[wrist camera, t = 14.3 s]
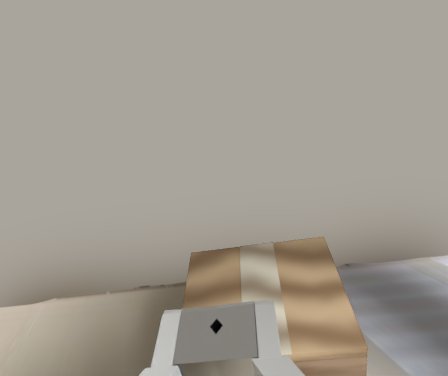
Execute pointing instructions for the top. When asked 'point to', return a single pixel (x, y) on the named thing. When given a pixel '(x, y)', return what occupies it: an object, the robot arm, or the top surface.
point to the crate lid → (283, 294)
